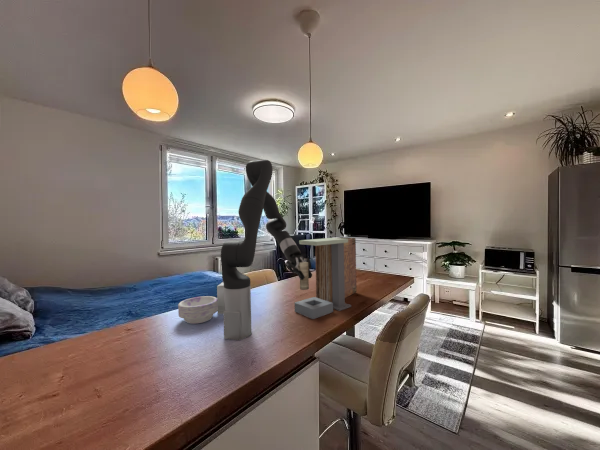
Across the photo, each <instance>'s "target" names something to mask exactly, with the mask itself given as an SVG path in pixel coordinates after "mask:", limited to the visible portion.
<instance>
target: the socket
mask: <svg viewBox="0 0 600 450" xmlns="http://www.w3.org/2000/svg"><path fill="white" fill-rule="evenodd" d="M293 304H294V312H295V313H298V314H299V315H301V316H304V317H306V318H309V319H311V320H315V319H317V318H321V317H324V316H325V315H329V314H331V313H333V312H334V309H333V303H332V302H329V301H326V300H322V299H319V298H316V296H314V297H309V298H305V299H302V300H299V301H296V302H295V301H294V303H293Z"/></svg>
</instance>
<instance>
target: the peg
mask: <svg viewBox="0 0 600 450" xmlns="http://www.w3.org/2000/svg"><path fill="white" fill-rule="evenodd" d="M300 271H302V273H303V275H304V277H305V278H304V279H303V280H301V279H300V278H299V290H302V291H308V290H309V288H310V287H309V283H310V282H309V280H310V278H309V275H308V262H300Z"/></svg>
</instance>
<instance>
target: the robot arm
mask: <svg viewBox="0 0 600 450" xmlns="http://www.w3.org/2000/svg"><path fill="white" fill-rule="evenodd" d="M245 174H246V177H247V179H248V181H249V183H250V185H251V187H250V188H249V189H248V190H247V191H246V192H245V193H244V194H243V196H242V198H241V200H240V203H239V207H238V211H237V212H238V217H239V219H240V221H241V223H242V225H243V227H244V230H245V235H244V236H245V237H244V239H243V240H239V241H238V240H232V241H231V240H229V241H225V242H224V243H223V244H222V246H221V250H220V267H221V277H222V279H221V280H222V282H223V283H224V312H223V314H222V316H223V339H224V340H231V341H232V340H233V341H241V340H243V339H245V338H249V337H250V335H252V330H253V329H252V295H251V294H252V293H251V292H252V289H251V278H250V277H249V276H248V275H246V274H243V273H242V272H241V271H239V270H238V268H249V267H251V266H252V264H253V262H254V258H255V254H256V247H257V239H258V234H259V227H260V223H261V219H262V214H263V212H264V214H265V217H266V219H267V220H269V221H268V222H266V223H265V224H266V225H265V228H266V231H267V233H268V234H270V235H271V236H272V238H274V239H275V240H276V241H277V243H278V245H279V247H280V250H281V251H282V253H283V255H284V257H285V259H286V261H285V263H284V266H285V267H286V268H287V269H288V270H289V271H290V272H291V273H292V274H297V276H298V278H299V280H300V279H301V280H303V279H304V278H305V277H304V275H303V273H302V271H300V262H308V275H309V279H311V278H312V277H313V274H312V272H311V269H312V263H311V261H310V258H309V257H306V258H305V257H303V255H302V252H301V250H300V248H299V246H298V245H297V243H296V242H295V241H294V239H293V237H292V236H291V235H290V233H289V232H288V231H287V230H286V228H287V222H286V220H285V219H284V217H283V216H282V215H281V213H280V211H279V207H278V204H277V200H276V199H275V197H274V196H273V195H271V194H270V193H269V192H268V189H269V186H270V183H271V181H272V180H271V179H272V177H273V164H272V162H271V160H268V159H257V160H252V161H248V162H247V163H246V164H245Z"/></svg>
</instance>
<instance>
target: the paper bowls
mask: <svg viewBox="0 0 600 450" xmlns="http://www.w3.org/2000/svg"><path fill="white" fill-rule="evenodd" d="M177 307H178V308H177V309H178V311H177V312H178V313H177V314H178V317H179V318H180V319H183V320H184V322H185V323H188V324H193V325H195V324H202V323H205V322H208V321H210V320H212V319H213V316H214V314H216V313H218V299H217V296H210V295H206V296H205V295H203V296H201V295H200V296H195V297H191V298H186V299H184V300H182V301H180V302H179V303H178V304H177Z"/></svg>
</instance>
